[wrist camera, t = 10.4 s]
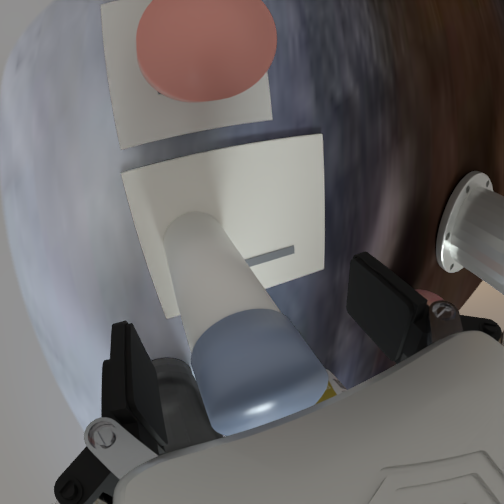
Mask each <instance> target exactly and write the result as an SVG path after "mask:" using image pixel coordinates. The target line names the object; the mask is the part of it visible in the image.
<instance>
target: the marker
mask: <svg viewBox="0 0 504 504" xmlns="http://www.w3.org/2000/svg"><path fill="white" fill-rule="evenodd" d="M163 243H164V249H165V254H166V258H167V263H168V267H169V272H170V276H171V280H172V284H173V288H174V292H175V296H176V300H177V304H178V308H179V312H180V316H181V319H182V323H183V327H184V330H185V334H186V337H187V341H188V344H189V348H190V351H191V364H192V368H193V371H194V374H195V378H196V381H197V384H198V387H199V390H200V394H201V397H202V400H203V403H204V406H205V409H206V412H207V415H208V418H209V420H210V423H211V426H212V428H213V429H214V430H215V431H216V432H218V433H220V434H222V435H225V436H229V435H232V434H236V433H239V432H242V431H245V430H249V429H252V428H255V427H258V426H261V425H263V424H266V423H269V422H272V421H275V420H278V419H280V418H283V417H286V416H288V415H291V414H293V413H296V412H298V411H301V410H303V409H306V408H308V407H311V406H313V405H315V404H316V403H317V401H318V400H319V399H320V398H321V396H322V395H323V393H324V392H325V390H326V388H327V385H328V379H329V377H328V373H327V371H326V369H325V368H324V367H323V365H322V364H321V362H320V361H319V360H318V358H317V357H316V356H315V354H314V353H313V351H312V350H311V349H310V347H309V346H308V344H307V343H306V342H305V340H304V339H303V337H302V336H301V335H300V333H299V332H298V330H297V329H296V328H295V326H294V325H293V324H292V322H291V321H290V320H289V318H288V317H286V316H285V315H284V314H282V313H281V312H280V310H279V309H278V307H277V306H276V304H275V303H274V302H273V300H272V299H271V297H270V296H269V294H268V293H267V292H266V290H265V289H264V287H263V286H262V284H261V283H260V281H259V280H258V279H257V277H256V276H255V274H254V273H253V271H252V270H251V268H250V267H249V266H248V264H247V263H246V261H245V260H244V258H243V257H242V255H241V254H240V253H239V251H238V250H237V248H236V247H235V245H234V244H233V242H232V241H231V240H230V238H229V237H228V235H227V234H226V232H225V231H224V229H223V228H222V226H221V225H220V224H219V222H218V221H217V220H216V219H215V218H214V217H213V216H211V215H209V214H207V213H204V212H188V213H185V214H182V215H180V216H179V217H177V218H176V219H174V220H173V221H172V222H171V223H170V225H169V226H168V228H167V229H166V232H165V234H164V241H163Z"/></svg>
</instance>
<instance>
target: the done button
mask: <svg viewBox="0 0 504 504" xmlns="http://www.w3.org/2000/svg"><path fill="white" fill-rule="evenodd" d="M276 47H277V32H276V27H275V23H274V20H273V17H272V15H271V13H270V11H269V10H268V8H267V7H266V5H265V4H264V3H263V2H262V1H261V0H152V2H151V3H150V4H149V5H148V6H147V8H146V9H145V11H144V13H143V14H142V17H141V19H140V21H139V24H138V28H137V34H136V51H137V61H138V65H139V68H140V71H141V73H142V75H143V76H144V78H145V79H146V81H147V82H148V83H149V84H150V85H151V86H152V87H153V88H154V89H155V90H157V91H158V92H159V93H161V94H163V95H165V96H166V97H169V98H171V99H174V100H178V101H182V102H195V103H197V102H206V101H214V100H221V99H226V98H229V97H232V96H235V95H238V94H240V93H242V92H244V91H246V90H247V89H249V88H250V87H252V86H253V85H254V84H256V83H257V82H258V81H259V80H260V79H261V78H262V77H263V76H264V74H265V73H266V72H267V70H268V69H269V67H270V65H271V63H272V61H273V58H274V56H275V52H276Z"/></svg>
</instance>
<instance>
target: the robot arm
mask: <svg viewBox="0 0 504 504" xmlns="http://www.w3.org/2000/svg"><path fill="white" fill-rule="evenodd" d="M436 256H437V261H438V263H439V265H440V267H442V268H443V269H444V270H446V271H447V272H450V273H453V272H456V271H459V270H460V269H462V268H463V267H465V268H466V269H468V270H469V271H471V272H472V273H474V274H475V275H477V276H478V277H480V278H481V279H482V280H484V281H485V282H487V283H488V284H490V285H491V286H492V287H494V288H495V289H496V290H498V291H499V292H501V293H502V294H503V295H504V196H502V195H500V194H497V193H495V192H493V187H492V183H491V181H490V179H489V177H488V176H487V175H486V174H484V173H482V172H479V171H472V172H470V173H468V174H467V175H466V176H465V177H464V178H463V179H462V180H461V181H460V182H459V183H458V185H457V186H456V188H455V189H454V191H453V193H452V194H451V196H450V198H449V201H448V203H447V205H446V207H445V210H444V213H443V215H442V219H441V222H440V225H439V230H438V235H437V242H436ZM427 301H428V300H427V299H426V298H424V297H423V296H422V295H421V294H420V293H418V292H417V291H416V290H415V289H413V288H412V287H411V286H410V285H409V284H407V283H406V282H405V281H404V280H402V279H401V278H400V277H399V276H397V275H396V274H395V273H394V272H392V271H391V270H390V269H388V268H387V267H386V266H385V265H383V264H382V263H381V262H380V261H378V260H377V259H376V258H374V257H373V256H372V255H370V254H369V253H368V252H362V253H359V254H356V255H354V256H353V259H352V260H351V262H350V274H349V285H348V296H347V305H346V307H347V311H348V313H349V314H350V315H351V317H352V318H353V319H354V320H355V321H356V322H357V323H358V324H359V325H360V327H361V328H362V329H363V330H364V331H365V332H366V333H367V334H368V335H369V337H370V338H371V339H372V340H373V341H374V342H375V343H376V344H377V345H378V347H379V348H380V349H381V350H382V351H383V352H384V353H385V355H386V356H387V357H388V358H389V359H390V360H391V361H395V362H396V363H397V365H395V366H393V367H391V368H389V369H388V370H386V371H384V372H382V373H380V374H378V375H376V376H375V377H373V378H371V379H369V380H367V381H365V382H363V383H361V384H359V385H357V386H355V387H353V388H351V389H349V390H347V391H344V392H342V393H340V394H338V395H336V396H334V397H331V398H329V399H327V400H325V401H322V402H320V403H318V404H315V405H313V406H311V407H308V408H306V409H303V410H301V411H298V412H296V413H293V414H291V415H288V416H286V417H283V418H280V419H278V420H275V421H272V422H269V423H266V424H263V425H261V426H258V427H255V428H252V429H249V430H245V431H242V432H239V433H236V434H232V435H229V436H226V437H223V438H219V439H216V440H212V441H209V442H205V443H201V444H197V445H193V446H190V447H186V448H183V449H179V450H176V451H172V452H169V453H166V452H165V447H164V445H168V439H167V434H166V429H165V423H164V418H163V412H162V406H161V400H160V393H159V386H158V379H157V373H156V370H155V367H154V365H153V363H152V362H151V360H150V358H149V356H148V354H147V352H146V350H145V348H144V346H143V344H142V342H141V340H140V338H139V336H138V334H137V332H136V330H135V328H134V326H133V324H132V323H130V324H128V323H127V321H123V322H119V323H115V324H113V325H112V332H111V351H110V359H109V360H104V362H103V367H102V418H98V419H95V420H94V421H92V422H91V423H90V424H89V425H88V426H87V428H86V430H85V433H84V440H85V444H86V448H85V449H84V450H83V451H82V452H81V453H80V454H79V456H78V457H77V458H76V459H75V460H74V461H73V462H72V463H71V465H70V466H69V467H68V468H67V469H66V470H65V471H64V472H63V473H62V475H61V476H60V477H59V478H58V479H57V481H56V483H55V486H54V493H55V496H56V499H57V501H56V503H55V504H504V331H503V332H502V331H501V328H500V327H499V325H497V323H495V322H494V321H492V320H490V319H485V318H478V317H471V316H464V315H460V314H459V311H458V309H457V308H456V306H455V305H453V304H452V303H450V302H448V301H443V300H438V301H434V302H433V303H431V305H430V306H429V305H428V304H427ZM162 453H166V454H163V455H160V456H159V454H162Z"/></svg>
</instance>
